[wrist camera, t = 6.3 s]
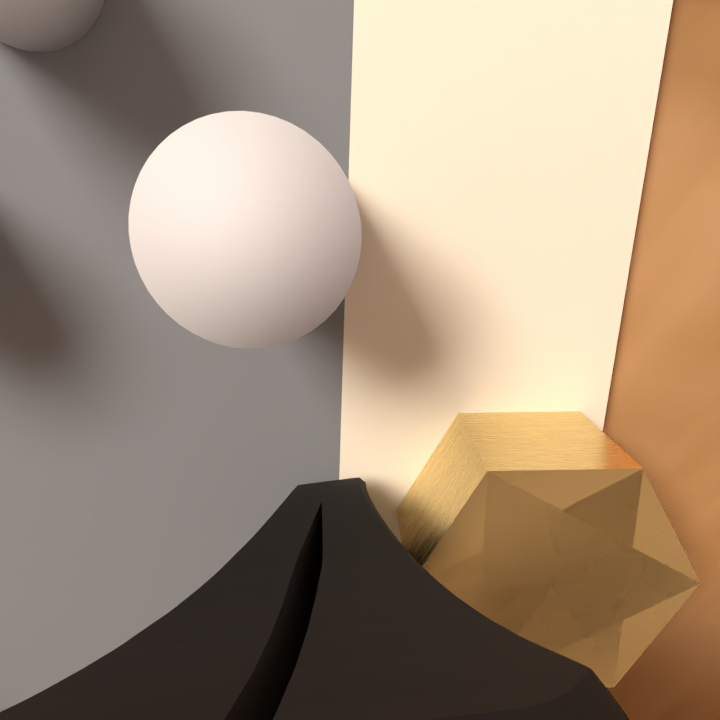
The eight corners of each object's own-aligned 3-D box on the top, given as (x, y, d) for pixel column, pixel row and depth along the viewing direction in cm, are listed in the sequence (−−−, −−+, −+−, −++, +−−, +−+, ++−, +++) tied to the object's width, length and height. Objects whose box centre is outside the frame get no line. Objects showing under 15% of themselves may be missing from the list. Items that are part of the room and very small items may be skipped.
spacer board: (681, -128, 9) (992, -443, 4) (539, 769, 13) (624, 1027, 9) (-308, -178, 8) (-982, -566, 4) (-97, 756, 13) (-310, 1017, 9)
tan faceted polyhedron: (641, 410, 11) (721, 467, 8) (617, 591, 12) (682, 685, 9) (397, 414, 11) (408, 472, 8) (396, 594, 12) (406, 691, 9)
